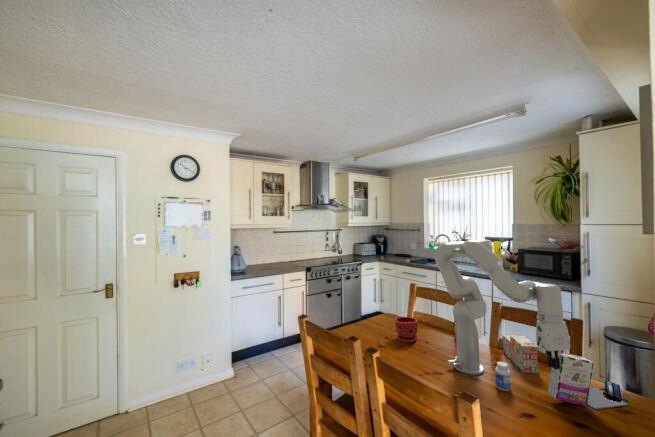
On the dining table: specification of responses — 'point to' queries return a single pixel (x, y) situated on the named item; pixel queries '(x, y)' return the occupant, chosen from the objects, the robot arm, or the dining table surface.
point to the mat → (601, 400)
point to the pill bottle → (503, 376)
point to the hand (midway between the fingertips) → (554, 367)
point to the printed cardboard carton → (521, 352)
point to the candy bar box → (571, 379)
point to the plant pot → (406, 329)
